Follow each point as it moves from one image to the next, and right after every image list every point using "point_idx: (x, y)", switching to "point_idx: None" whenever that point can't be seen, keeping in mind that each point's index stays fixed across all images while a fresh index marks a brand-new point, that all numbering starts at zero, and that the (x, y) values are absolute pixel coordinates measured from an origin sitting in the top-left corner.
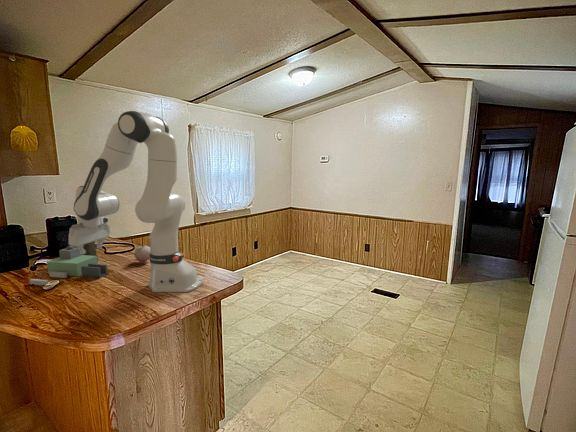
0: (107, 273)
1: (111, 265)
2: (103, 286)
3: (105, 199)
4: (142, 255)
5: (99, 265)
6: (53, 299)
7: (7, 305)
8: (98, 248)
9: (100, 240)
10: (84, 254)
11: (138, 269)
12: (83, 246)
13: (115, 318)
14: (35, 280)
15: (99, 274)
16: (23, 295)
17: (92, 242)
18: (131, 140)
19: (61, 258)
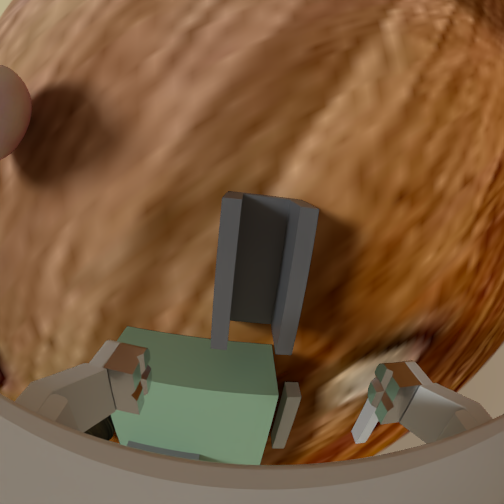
0: (229, 191)
1: (79, 275)
2: (408, 110)
3: None
4: (16, 82)
5: (235, 255)
6: (501, 247)
7: (500, 342)
8: (146, 364)
9: (73, 418)
10: (93, 434)
11: (121, 63)
12: (458, 414)
13: None
14: (375, 425)
15: (305, 202)
16: (453, 369)
17: None
18: None
19: None
